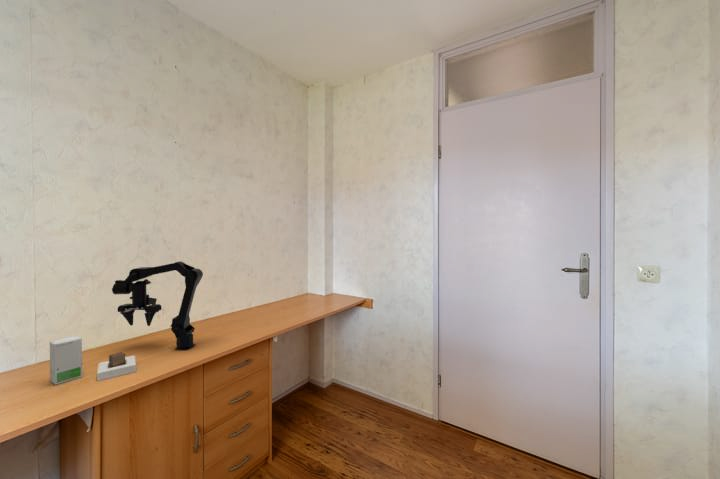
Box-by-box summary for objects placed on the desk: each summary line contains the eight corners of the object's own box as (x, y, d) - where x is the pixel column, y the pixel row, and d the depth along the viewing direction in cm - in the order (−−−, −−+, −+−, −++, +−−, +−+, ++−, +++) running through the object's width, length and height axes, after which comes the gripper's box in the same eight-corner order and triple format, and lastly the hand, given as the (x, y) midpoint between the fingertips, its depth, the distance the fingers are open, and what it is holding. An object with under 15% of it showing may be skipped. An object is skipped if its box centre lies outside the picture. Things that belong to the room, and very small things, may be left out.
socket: (135, 361, 133) (134, 355, 133) (136, 371, 124) (135, 364, 123) (99, 369, 126) (99, 362, 125) (97, 381, 116) (97, 373, 116)
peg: (125, 370, 125) (124, 353, 125) (113, 374, 122) (113, 357, 122) (120, 368, 127) (120, 351, 127) (109, 371, 124) (108, 355, 124)
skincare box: (54, 385, 113) (53, 344, 112) (49, 381, 116) (47, 341, 116) (83, 376, 120) (82, 337, 120) (78, 372, 124) (76, 334, 123)
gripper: (169, 290, 152) (170, 321, 153) (135, 290, 154) (136, 320, 155) (151, 295, 141) (152, 328, 142) (116, 294, 143) (117, 327, 144)
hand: (140, 325), depth 146 cm, fingers open, 9 cm apart
